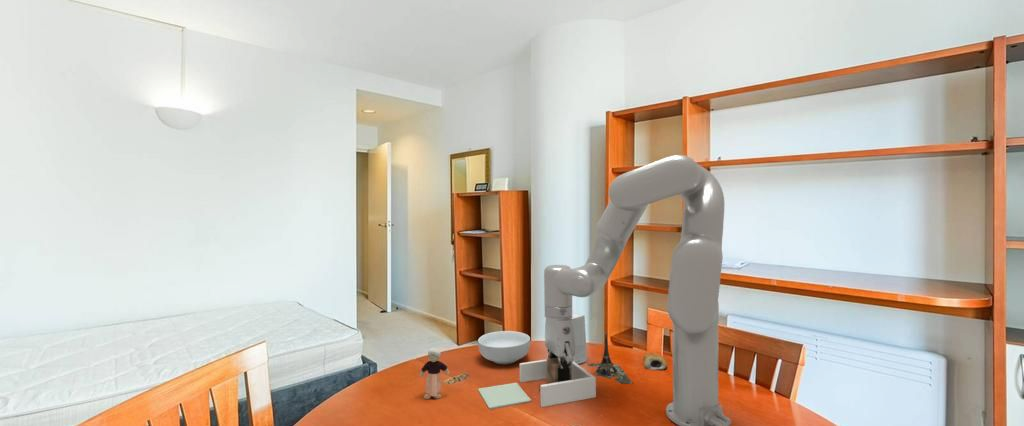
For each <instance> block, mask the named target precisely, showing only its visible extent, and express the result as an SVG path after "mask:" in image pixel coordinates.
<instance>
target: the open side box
mask: <svg viewBox="0 0 1024 426" xmlns="http://www.w3.org/2000/svg"><path fill="white" fill-rule="evenodd" d="M543 379H544V380H545V379H547V359H540V360H533V361H526V362H520V363H519V382H520V383H526V382H531V381H538V380H543ZM596 382H597V379H596V376H594V375H592V374H591V373H590V372H589V371H587V370H586V369H585V368H583V367H582V366H581V365H579V364H577V363H575V362H574V361H573V362H572V380H568V381H562V382H556V383H545V384H540V406H541V407H542V408H545V407H550V406H557V405H561V404H566V403H572V402H576V401H582V400H588V399H594V398H596V397H597V389H596V387H597V383H596Z"/></svg>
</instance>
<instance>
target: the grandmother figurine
mask: <svg viewBox="0 0 1024 426" xmlns="http://www.w3.org/2000/svg"><path fill="white" fill-rule="evenodd" d="M441 355H442V354H441V351H440V350H439V349H438V348H437V347H431V348H430V349H428V351H427V356H428V361H427V362H426V363H424V365H423V367H422V368H421V369H420V373H419V374H418V375H419V377H420V378H423V376H424V374H425V372H426V378H425V379H426V380H425V381H426V382H425V394H424V395H423V399H424V400H428V399H429V400H430V399H431V398H432V397H433V399H441V398H442V394H441V393H442V391H441V390H442V377H441V376H442V375H441V371H442V372H444V373H445V375H446V376H449V375H450V371H449V369H448V366H447V365H446V364H445V363H444V362H442V361H439V358H440V357H441Z"/></svg>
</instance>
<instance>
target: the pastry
mask: <svg viewBox="0 0 1024 426" xmlns="http://www.w3.org/2000/svg"><path fill="white" fill-rule="evenodd" d="M642 361H643V365H644V368H645V369H647V370H652V371H657V370H658V371H663V370H666V369H667V366H668V363H667V361H666V359H665V358H664V356H662V355H660V354H658V353H653V352H649V353H646V354H645V355H644V356H643V359H642Z"/></svg>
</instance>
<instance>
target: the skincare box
mask: <svg viewBox="0 0 1024 426" xmlns="http://www.w3.org/2000/svg"><path fill="white" fill-rule="evenodd" d="M585 317H586V316H585V314H579V313H576V312H573V311H572V320H573V325H574V333H575V349H576V353H575V356H573V361H574V362H575V363H577V364H578V365H579V364H583V363H587V362H588V356H587V337H586V335H587V334H586V320H585V319H586V318H585ZM563 355H566V354H565V353H563V354H562V356H563Z"/></svg>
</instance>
